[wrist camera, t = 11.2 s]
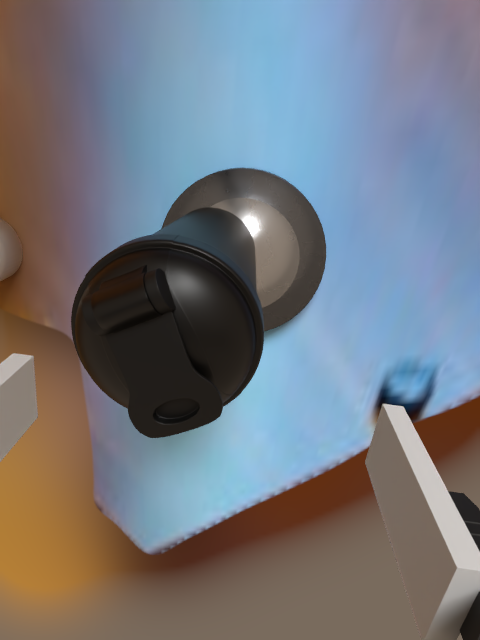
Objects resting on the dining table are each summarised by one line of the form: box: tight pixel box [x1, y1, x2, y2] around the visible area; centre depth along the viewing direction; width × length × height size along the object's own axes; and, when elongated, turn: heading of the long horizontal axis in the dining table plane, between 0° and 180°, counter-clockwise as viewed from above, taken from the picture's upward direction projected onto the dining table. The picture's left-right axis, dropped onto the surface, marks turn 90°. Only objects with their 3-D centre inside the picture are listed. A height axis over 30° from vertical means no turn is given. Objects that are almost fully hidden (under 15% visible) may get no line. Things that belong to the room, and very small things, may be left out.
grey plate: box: [162, 168, 326, 331], centre depth 41 cm, size 16×16×2 cm
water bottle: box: [71, 207, 264, 438], centre depth 30 cm, size 10×10×23 cm
